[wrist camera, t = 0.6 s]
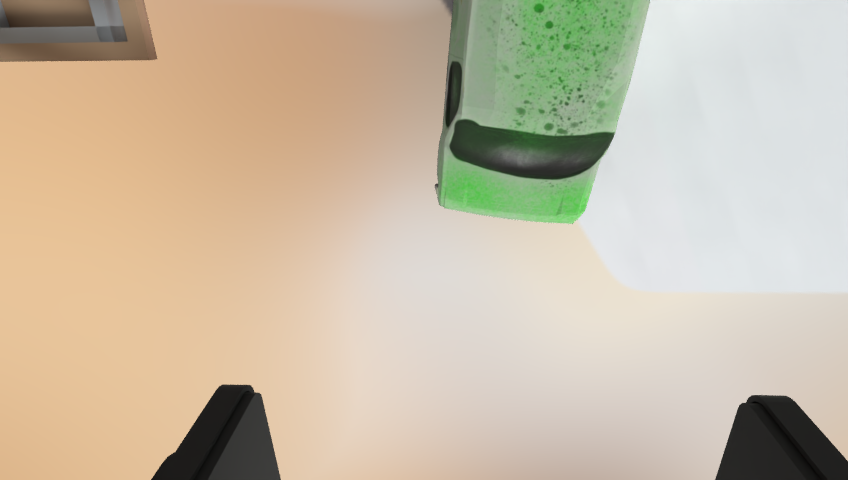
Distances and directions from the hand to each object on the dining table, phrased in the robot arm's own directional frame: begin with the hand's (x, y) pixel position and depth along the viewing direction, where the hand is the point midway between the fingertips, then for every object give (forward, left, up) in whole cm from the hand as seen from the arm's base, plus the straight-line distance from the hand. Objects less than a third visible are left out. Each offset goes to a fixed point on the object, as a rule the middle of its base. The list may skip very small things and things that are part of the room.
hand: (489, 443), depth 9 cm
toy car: (-8, +4, -29) cm, 31 cm away
